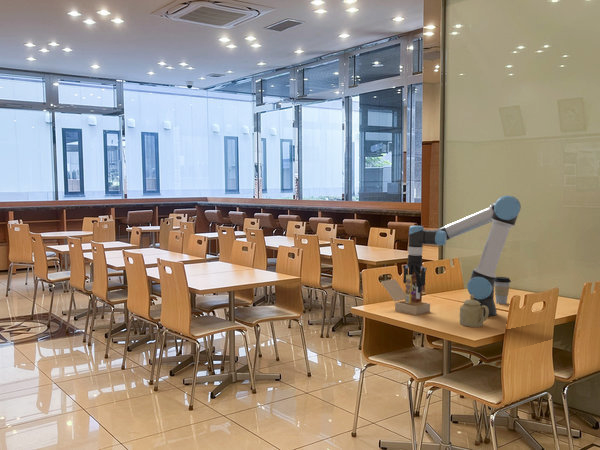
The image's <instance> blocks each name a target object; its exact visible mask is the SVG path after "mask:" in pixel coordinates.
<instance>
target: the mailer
mask: <svg viewBox="0 0 600 450" xmlns="http://www.w3.org/2000/svg"><path fill="white" fill-rule="evenodd" d="M398 311H399V312H398ZM394 312H398V313H404V314H409V315H413V314H414V316H418V315H423V314H427V313H431V302H430V303H428V302H424V301H422V302H421V303H412V304H408V303H405V300H400V301H395V303H394Z"/></svg>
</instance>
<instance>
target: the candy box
mask: <svg viewBox="0 0 600 450" xmlns="http://www.w3.org/2000/svg"><path fill="white" fill-rule="evenodd" d="M420 276H421V273H420ZM417 286H418V285H417V279H416V274H415V273H413V274H412V275H406V284H405V289H404V290H405V291H404V292H405V300H404V301H405V303H408V304H412V303H421V302H423V301H422V300H423V298H422V297H423V286H422V287H421V293H420V298H419V299H416V287H417Z"/></svg>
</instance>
